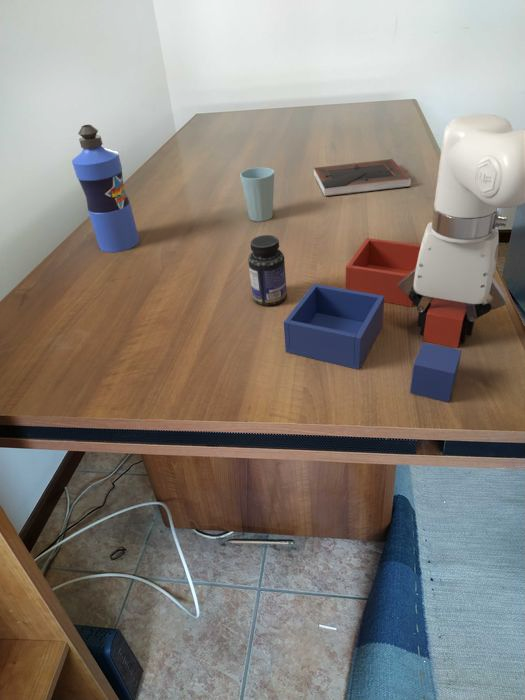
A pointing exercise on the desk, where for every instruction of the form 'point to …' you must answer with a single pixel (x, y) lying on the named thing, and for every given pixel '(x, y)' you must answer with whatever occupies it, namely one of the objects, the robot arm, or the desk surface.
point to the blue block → (435, 371)
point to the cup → (259, 192)
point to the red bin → (382, 269)
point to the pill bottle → (267, 271)
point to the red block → (444, 322)
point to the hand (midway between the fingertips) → (443, 333)
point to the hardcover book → (361, 177)
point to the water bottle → (105, 193)
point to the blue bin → (334, 325)
